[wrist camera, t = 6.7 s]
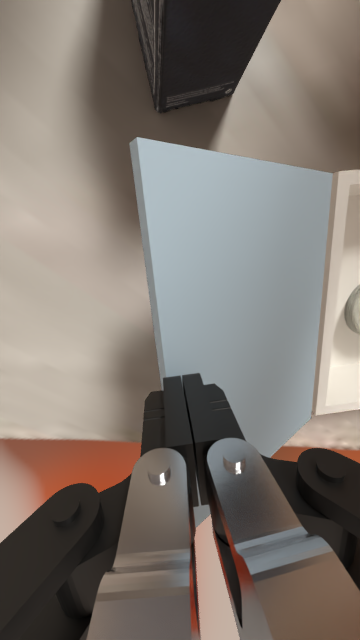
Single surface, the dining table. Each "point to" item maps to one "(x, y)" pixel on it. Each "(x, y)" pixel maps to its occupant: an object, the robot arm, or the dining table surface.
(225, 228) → the lid
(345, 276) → the open white box
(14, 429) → the dining table surface
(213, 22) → the small box
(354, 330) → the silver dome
